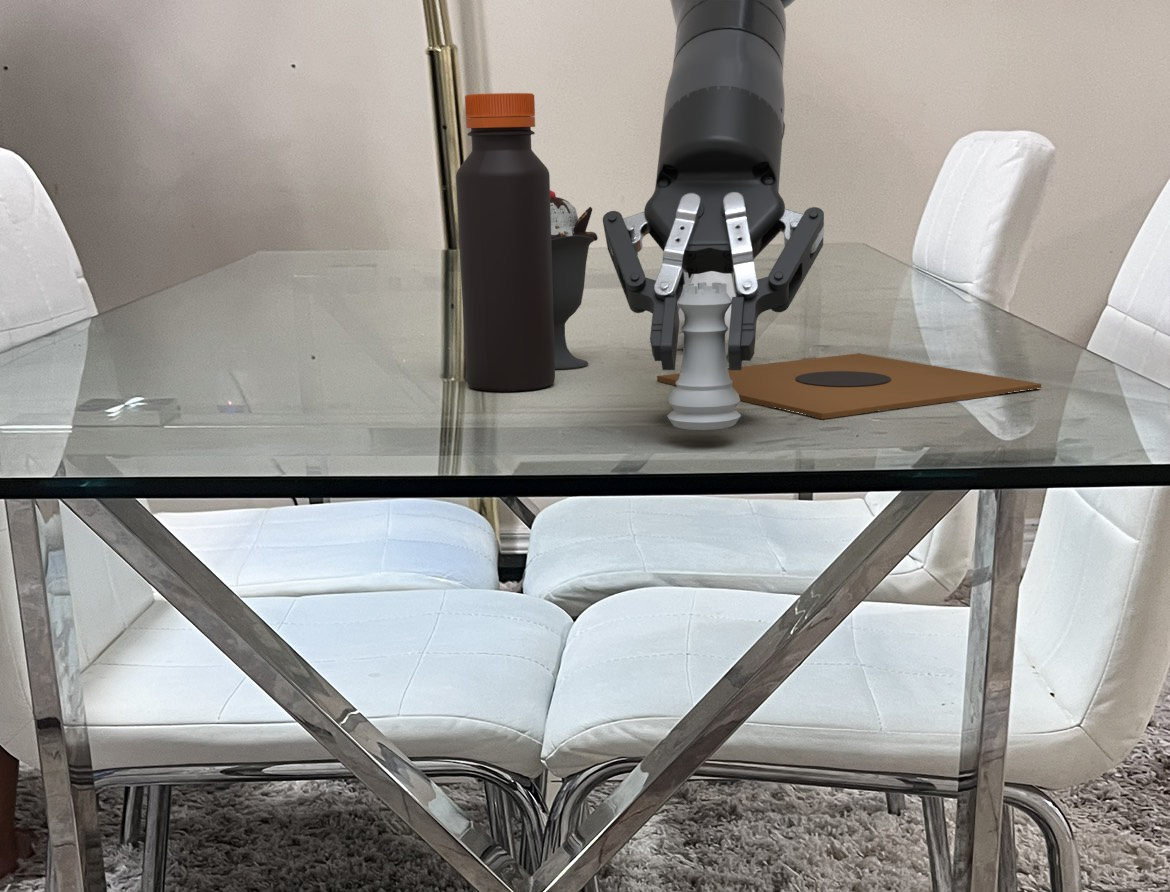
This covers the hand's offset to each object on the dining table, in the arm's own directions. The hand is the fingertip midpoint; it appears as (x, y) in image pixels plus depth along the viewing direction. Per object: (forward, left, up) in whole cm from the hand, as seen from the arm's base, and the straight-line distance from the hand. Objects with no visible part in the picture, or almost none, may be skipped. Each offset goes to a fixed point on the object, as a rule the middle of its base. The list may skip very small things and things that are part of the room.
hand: (701, 360), depth 81 cm
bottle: (+29, -2, -5) cm, 29 cm away
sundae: (+36, -10, -5) cm, 37 cm away
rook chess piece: (+2, -1, -4) cm, 5 cm away
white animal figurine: (+34, -24, -5) cm, 42 cm away
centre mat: (+14, -22, -5) cm, 26 cm away
